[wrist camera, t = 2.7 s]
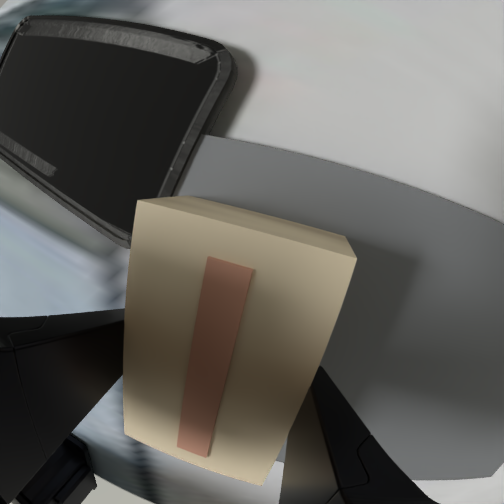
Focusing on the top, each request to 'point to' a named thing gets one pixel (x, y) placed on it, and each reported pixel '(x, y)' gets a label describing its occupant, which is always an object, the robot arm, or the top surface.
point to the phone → (107, 111)
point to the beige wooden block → (225, 329)
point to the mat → (392, 300)
